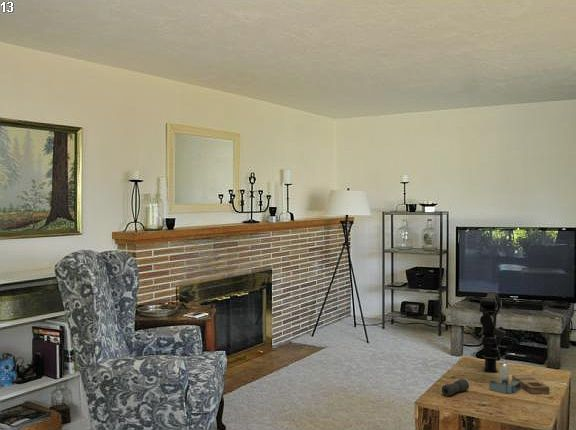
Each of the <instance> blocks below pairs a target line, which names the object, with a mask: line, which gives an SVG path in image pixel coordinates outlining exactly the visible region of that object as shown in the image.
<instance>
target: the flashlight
mask: <svg viewBox="0 0 576 430" xmlns="http://www.w3.org/2000/svg"><path fill="white" fill-rule="evenodd" d="M470 386H471V385H470V382H469V380H468V379H467V378H464V377H463V378H459V379H458V380H455V381H454V382H453V383H447V384H443V386H441V392H442V395H444V396H445V397H450V396H453V395H454V394H456V393H461V392H464V391H468V390H469V388H470Z"/></svg>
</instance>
